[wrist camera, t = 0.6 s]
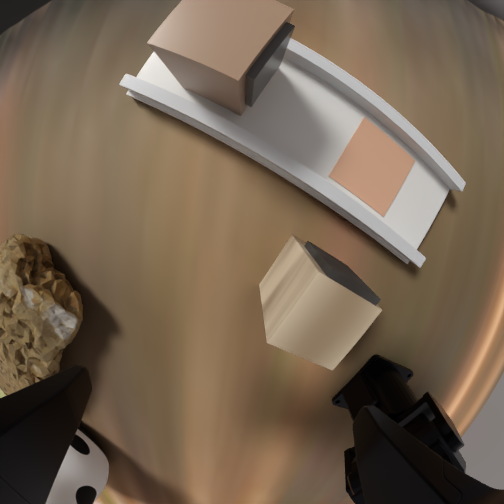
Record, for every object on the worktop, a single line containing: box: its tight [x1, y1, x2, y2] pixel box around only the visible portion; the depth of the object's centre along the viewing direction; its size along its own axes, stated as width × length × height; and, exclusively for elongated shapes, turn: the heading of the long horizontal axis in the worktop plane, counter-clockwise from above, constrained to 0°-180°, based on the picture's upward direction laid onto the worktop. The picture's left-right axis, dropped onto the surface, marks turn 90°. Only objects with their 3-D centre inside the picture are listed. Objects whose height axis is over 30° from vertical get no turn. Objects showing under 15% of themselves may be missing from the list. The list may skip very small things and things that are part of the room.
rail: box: [119, 0, 466, 267], centre depth 13 cm, size 23×8×8 cm, turn 59°
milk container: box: [46, 427, 109, 504], centre depth 17 cm, size 17×17×18 cm
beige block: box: [259, 235, 382, 370], centre depth 16 cm, size 4×5×7 cm
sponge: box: [0, 234, 83, 395], centre depth 17 cm, size 13×8×20 cm
